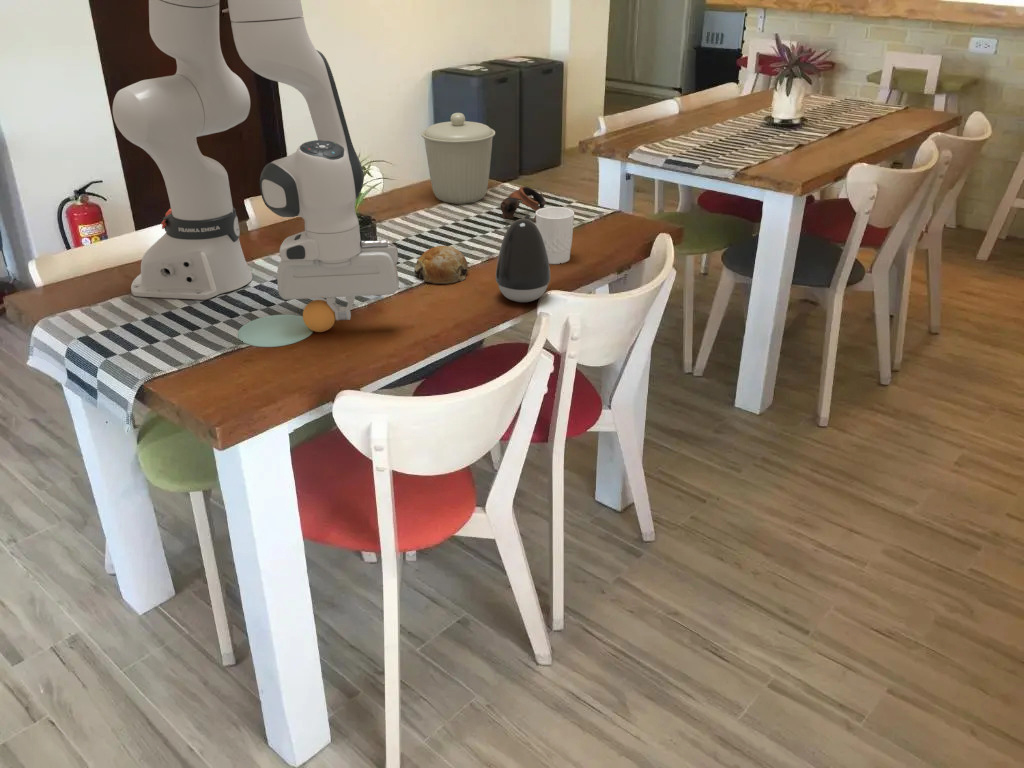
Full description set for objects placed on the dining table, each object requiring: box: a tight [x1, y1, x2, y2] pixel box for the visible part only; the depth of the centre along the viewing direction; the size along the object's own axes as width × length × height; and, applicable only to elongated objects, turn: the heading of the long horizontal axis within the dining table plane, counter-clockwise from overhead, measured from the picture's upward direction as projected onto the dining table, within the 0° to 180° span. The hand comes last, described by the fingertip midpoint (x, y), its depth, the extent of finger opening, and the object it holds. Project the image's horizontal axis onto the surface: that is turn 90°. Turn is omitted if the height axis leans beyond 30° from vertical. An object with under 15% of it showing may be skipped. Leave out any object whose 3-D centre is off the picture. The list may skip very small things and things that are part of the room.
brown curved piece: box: [500, 185, 547, 222], centre depth 206 cm, size 12×10×8 cm
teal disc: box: [237, 314, 314, 348], centre depth 153 cm, size 13×13×1 cm
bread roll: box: [414, 245, 469, 285], centre depth 175 cm, size 10×10×8 cm
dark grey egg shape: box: [495, 214, 551, 303], centre depth 162 cm, size 10×10×15 cm
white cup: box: [535, 206, 575, 265], centre depth 182 cm, size 8×8×10 cm
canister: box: [420, 112, 496, 205], centre depth 217 cm, size 18×18×21 cm
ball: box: [302, 299, 337, 333], centre depth 152 cm, size 6×6×6 cm
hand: (343, 318), depth 152 cm, fingers closed
